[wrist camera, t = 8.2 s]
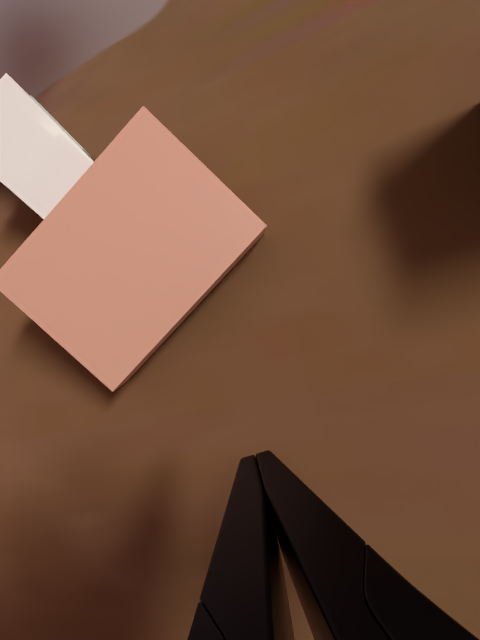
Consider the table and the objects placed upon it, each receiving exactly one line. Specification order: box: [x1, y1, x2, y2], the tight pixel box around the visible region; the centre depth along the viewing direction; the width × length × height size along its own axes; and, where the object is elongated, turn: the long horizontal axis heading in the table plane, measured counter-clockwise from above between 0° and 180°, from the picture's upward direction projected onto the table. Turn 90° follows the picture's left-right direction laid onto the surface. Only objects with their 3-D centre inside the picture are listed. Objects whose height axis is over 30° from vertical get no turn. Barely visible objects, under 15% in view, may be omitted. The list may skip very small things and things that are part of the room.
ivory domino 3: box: [12, 134, 93, 219], centre depth 19 cm, size 2×5×10 cm
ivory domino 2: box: [0, 107, 55, 191], centre depth 20 cm, size 2×5×10 cm
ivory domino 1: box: [0, 73, 94, 163], centre depth 22 cm, size 2×5×10 cm
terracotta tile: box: [0, 106, 267, 392], centre depth 17 cm, size 2×14×10 cm
